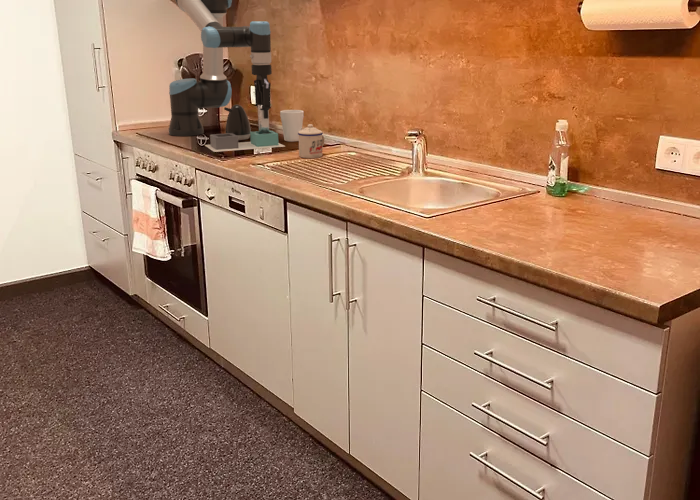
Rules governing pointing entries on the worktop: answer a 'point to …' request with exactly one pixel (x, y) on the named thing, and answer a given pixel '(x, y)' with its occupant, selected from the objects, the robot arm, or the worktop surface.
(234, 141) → the mount board
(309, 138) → the teacup with lid
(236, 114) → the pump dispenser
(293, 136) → the foam cup
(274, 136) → the socket
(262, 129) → the lock pin
